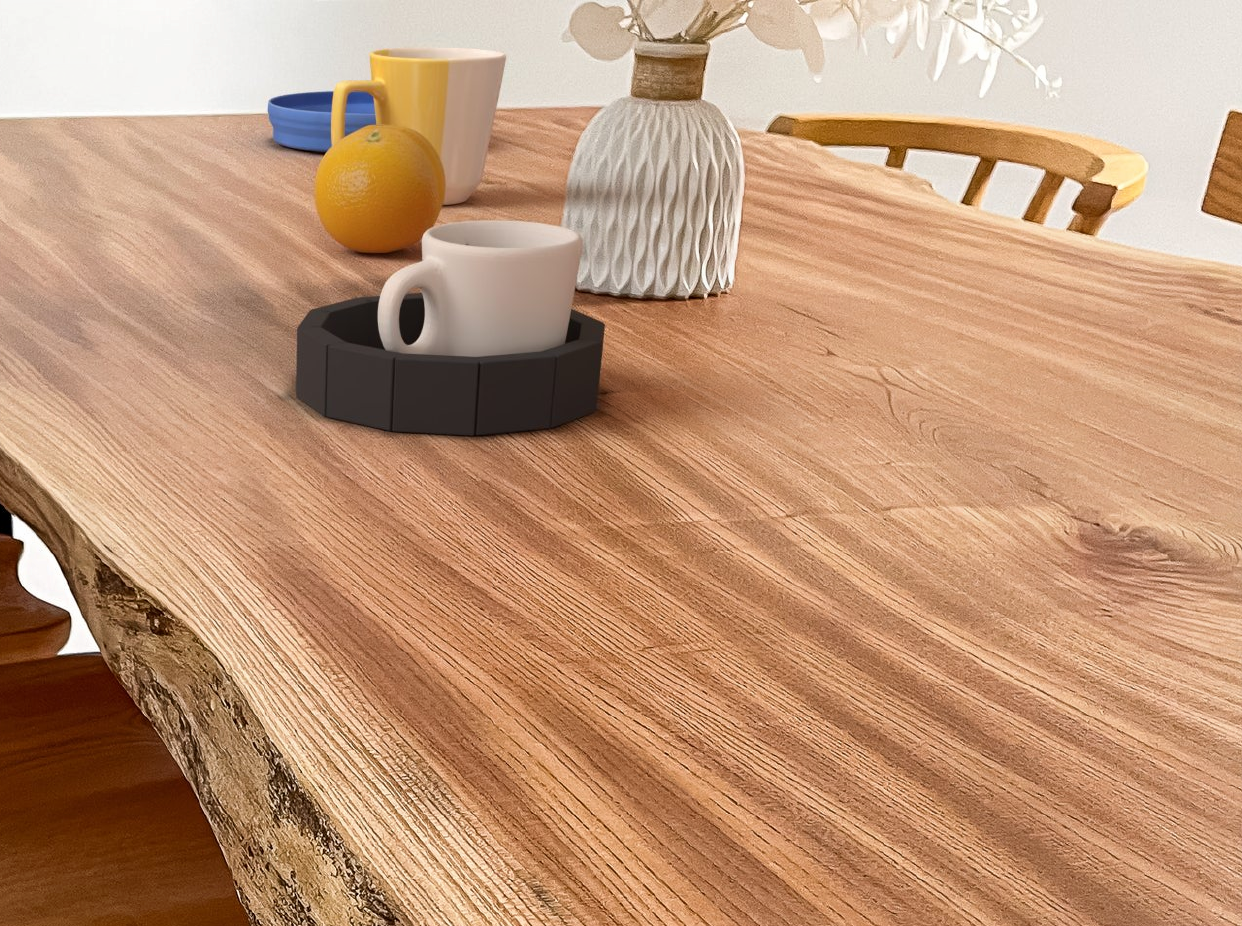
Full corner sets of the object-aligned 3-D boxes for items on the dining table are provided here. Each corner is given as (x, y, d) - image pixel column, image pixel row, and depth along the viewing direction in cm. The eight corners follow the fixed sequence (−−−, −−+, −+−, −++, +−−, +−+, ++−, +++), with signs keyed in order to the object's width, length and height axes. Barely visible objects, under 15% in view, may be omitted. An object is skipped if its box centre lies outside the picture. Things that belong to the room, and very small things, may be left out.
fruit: (308, 261, 131) (311, 132, 127) (318, 239, 138) (321, 116, 134) (440, 265, 130) (447, 135, 126) (443, 242, 137) (450, 118, 133)
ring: (601, 366, 106) (607, 299, 105) (592, 442, 93) (599, 368, 92) (323, 353, 109) (325, 287, 107) (277, 425, 96) (278, 353, 94)
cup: (418, 431, 95) (426, 259, 91) (339, 394, 101) (343, 231, 97) (600, 406, 99) (615, 240, 95) (513, 371, 105) (524, 214, 101)
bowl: (471, 158, 170) (474, 114, 168) (265, 157, 170) (265, 113, 168) (457, 130, 185) (460, 89, 183) (268, 128, 186) (269, 88, 184)
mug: (472, 186, 157) (480, 43, 152) (515, 208, 149) (525, 57, 143) (308, 192, 155) (311, 47, 149) (342, 215, 146) (346, 61, 141)
